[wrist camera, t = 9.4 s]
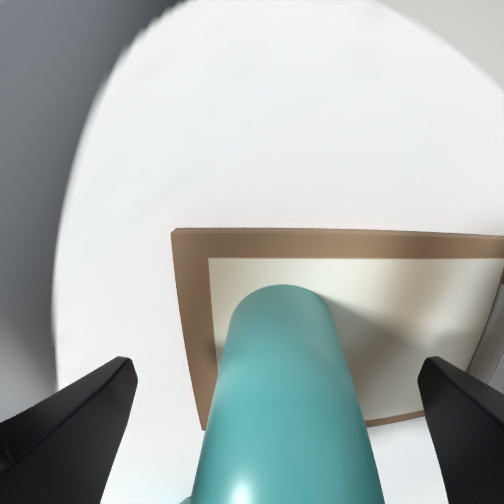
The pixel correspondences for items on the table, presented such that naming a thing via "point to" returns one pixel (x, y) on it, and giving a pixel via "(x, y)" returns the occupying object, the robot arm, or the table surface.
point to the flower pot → (186, 501)
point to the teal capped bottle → (285, 410)
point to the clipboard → (351, 302)
